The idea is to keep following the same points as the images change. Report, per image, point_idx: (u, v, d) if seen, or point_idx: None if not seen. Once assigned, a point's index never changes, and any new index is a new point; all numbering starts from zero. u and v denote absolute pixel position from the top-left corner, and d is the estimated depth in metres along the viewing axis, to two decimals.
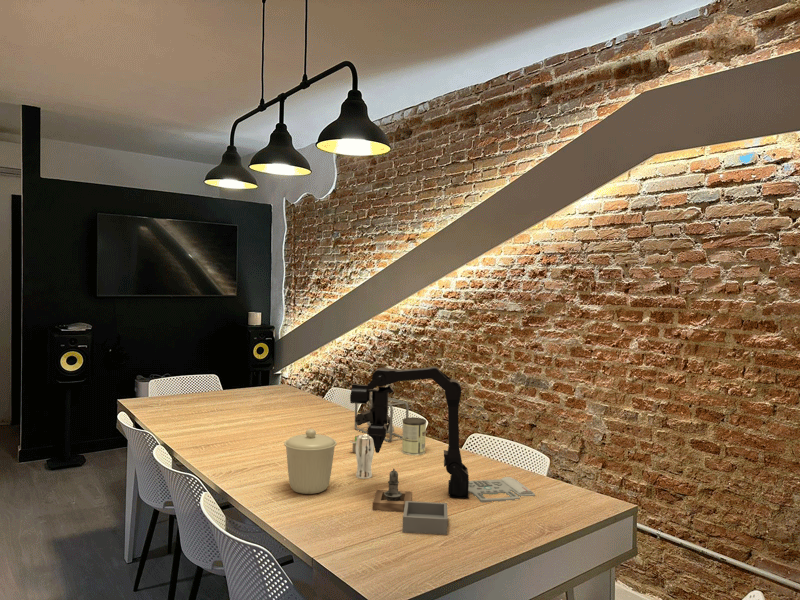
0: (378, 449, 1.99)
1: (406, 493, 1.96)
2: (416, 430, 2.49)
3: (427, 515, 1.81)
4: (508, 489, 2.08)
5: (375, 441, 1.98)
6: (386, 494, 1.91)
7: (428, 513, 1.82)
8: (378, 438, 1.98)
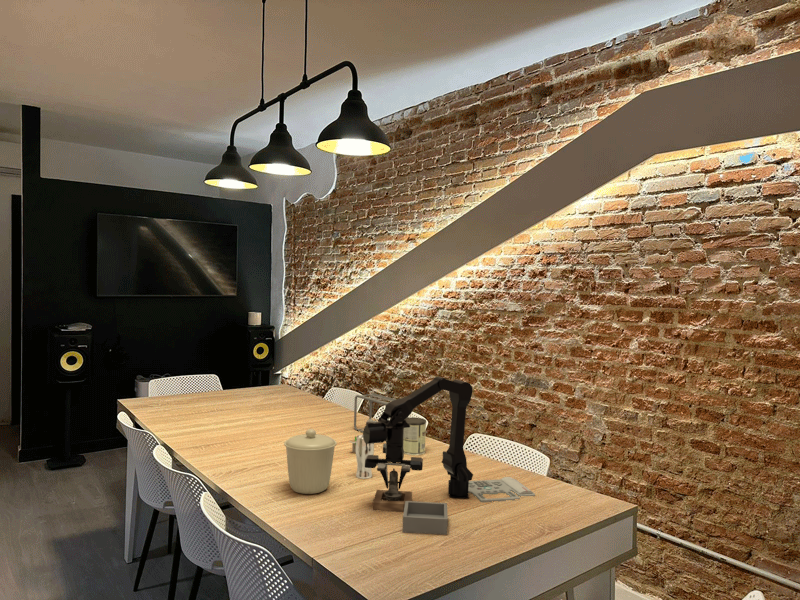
0: None
1: (406, 493, 1.96)
2: (416, 430, 2.49)
3: (427, 515, 1.81)
4: (508, 489, 2.08)
5: None
6: (386, 494, 1.91)
7: (428, 513, 1.82)
8: None
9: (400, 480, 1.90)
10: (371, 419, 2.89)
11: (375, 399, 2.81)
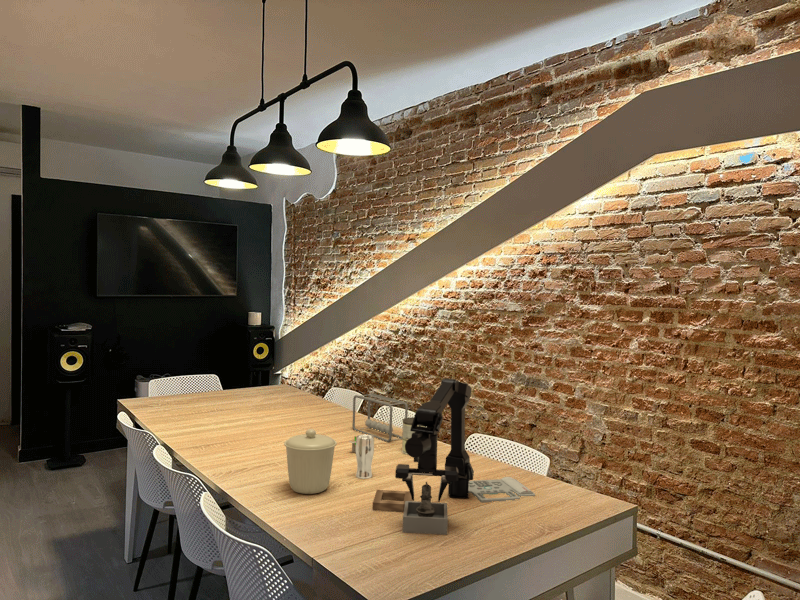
0: None
1: (406, 493, 1.96)
2: None
3: None
4: (508, 489, 2.08)
5: None
6: (418, 510, 1.75)
7: None
8: None
9: (440, 492, 1.74)
10: None
11: (374, 399, 2.81)
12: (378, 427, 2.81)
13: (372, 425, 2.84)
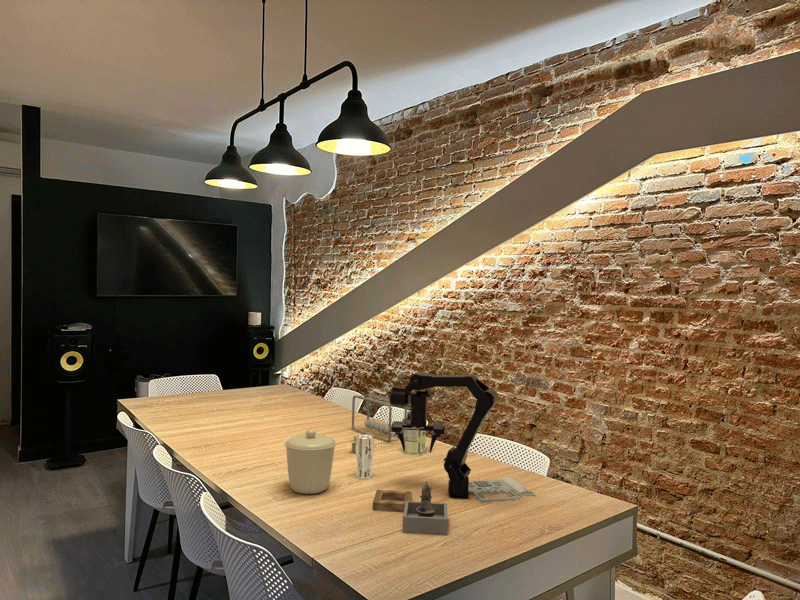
0: None
1: (406, 493, 1.96)
2: (416, 430, 2.49)
3: None
4: (508, 489, 2.08)
5: None
6: (418, 510, 1.75)
7: None
8: None
9: (431, 444, 2.06)
10: None
11: (373, 399, 2.81)
12: (377, 427, 2.81)
13: (371, 425, 2.84)
